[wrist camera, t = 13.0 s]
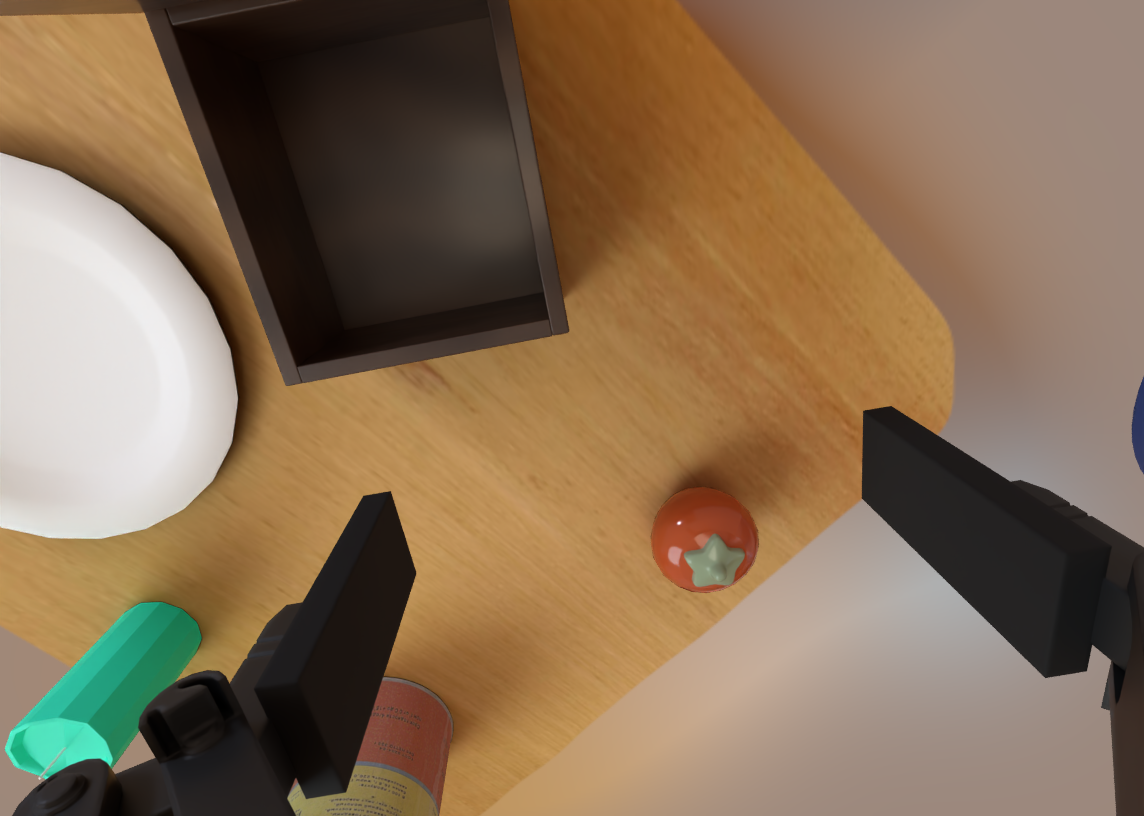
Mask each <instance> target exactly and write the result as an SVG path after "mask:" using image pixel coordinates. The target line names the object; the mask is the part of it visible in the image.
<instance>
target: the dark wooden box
mask: <svg viewBox="0 0 1144 816" xmlns="http://www.w3.org/2000/svg"><path fill="white" fill-rule="evenodd" d="M144 13H145V15H146V18H147V21H148V23H149V26H150V29H151V31H152V34H153V36H154V39H155V42H156V44H157V47H158V50H159V52H160V55H161V58H162V60H163V63H164V65H165V68H166V71H167V73H168V76H169V79H170V81H171V84H172V87H173V89H174V92H175V95H176V97H177V100H178V102H179V105H180V108H181V110H182V113H183V116H184V118H185V121H186V124H187V126H188V129H189V131H190V134H191V137H192V139H193V142H194V145H195V147H196V150H197V153H198V155H199V158H200V160H201V163H202V166H203V168H204V171H205V174H206V176H207V179H208V182H209V184H210V187H211V189H212V192H213V195H214V197H215V200H216V203H217V205H218V208H219V211H220V213H221V216H222V219H223V221H224V224H225V226H226V229H227V232H228V234H229V237H230V240H231V242H232V245H233V248H234V250H235V253H236V255H237V258H238V261H239V263H240V266H241V269H242V271H243V274H244V277H245V279H246V282H247V284H248V287H249V290H250V292H251V295H252V298H253V300H254V303H255V306H256V308H257V311H258V314H259V316H260V319H261V321H262V324H263V327H264V329H265V332H266V335H267V337H268V340H269V343H270V345H271V348H272V350H273V353H274V356H275V358H276V361H277V364H278V366H279V369H280V372H281V374H282V377H283V379H284V382H285V385H286V386H290V385H295V384H300V383H306V382H312V381H317V380H322V379H328V378H333V377H338V376H343V375H349V374H354V373H359V372H365V371H370V370H375V369H380V368H386V367H391V366H396V365H402V364H407V363H412V362H417V361H423V360H428V359H433V358H439V357H444V356H449V355H454V354H460V353H465V352H470V351H476V350H481V349H486V348H491V347H497V346H502V345H507V344H513V343H518V342H523V341H528V340H534V339H539V338H544V337H550V336H552V335H559V334H564V333H568V332H569V326H568V321H567V316H566V310H565V305H564V299H563V294H562V288H561V283H560V278H559V272H558V267H557V261H556V256H555V251H554V245H553V240H552V234H551V229H550V224H549V218H548V213H547V207H546V202H545V197H544V191H543V186H542V180H541V175H540V169H539V164H538V159H537V153H536V148H535V142H534V137H533V132H532V126H531V121H530V115H529V110H528V105H527V99H526V94H525V88H524V83H523V78H522V72H521V67H520V61H519V56H518V50H517V45H516V40H515V34H514V29H513V23H512V18H511V13H510V7H509V2H508V0H204V1H199V2H194V3H189V4H184V5H179V6H174V7H169V8H164V9H159V10H154V11H149V12H144Z"/></svg>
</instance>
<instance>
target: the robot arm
mask: <svg viewBox="0 0 1144 816" xmlns="http://www.w3.org/2000/svg"><path fill="white" fill-rule="evenodd" d="M862 499H863V500H864V501H865V502H866V503H867V504H868V505H869V506H871V508H872V509H873V510H874V511H875V512H877V513H878V515H880V516H881V517H882V518H883V519H884V520H885V521H886V522H887V523H888V524H889V525H890V526H891V527H892V528H893V529H894V530H895V531H896V532H897V533H898V534H899V535H900V536H901V537H902V538H903V539H904V540H905V541H906V542H907V543H908V544H909V545H910V546H911V547H912V548H913V549H914V550H915V551H916V552H918V554H919V555H920V556H921V557H922V558H924V560H926V562H928V563H929V564H930V565H931V566H932V567H933V568H934V569H935V570H936V571H937V572H938V573H939V574H940V575H941V576H942V577H943V578H944V579H945V580H946V581H947V582H948V583H949V584H950V585H951V586H952V587H953V588H954V589H955V590H956V591H957V592H958V593H959V594H960V595H961V596H962V597H963V598H964V599H965V600H966V601H967V602H968V603H969V604H970V605H971V606H972V607H973V608H975V610H976V611H978V612H979V613H980V614H981V615H982V616H983V617H984V618H985V619H986V620H987V621H988V622H989V623H990V624H991V625H992V626H993V627H994V628H995V629H996V630H997V631H998V632H999V633H1000V634H1001V635H1002V636H1003V637H1004V638H1005V639H1006V640H1007V641H1008V642H1009V643H1010V644H1011V645H1012V646H1013V647H1014V648H1015V649H1016V650H1017V651H1018V652H1019V653H1020V654H1022V656H1023V657H1024V658H1025V659H1027V660H1028V661H1029V662H1030V663H1031V664H1032V665H1033V666H1034V667H1035V668H1036V669H1037V670H1038V671H1039V672H1040V673H1041V674H1042V675H1043V676H1044V677H1045V678H1048V677H1054V676H1060V675H1066V674H1073V673H1079V672H1084V671H1087V668H1088V663H1089V658H1090V652H1091V648H1092V645H1094V646H1095V647H1096V648H1097V649H1098V650H1100V651H1101V652H1102V653H1103V654H1104V655H1106V656H1107V657H1108V658H1109V659H1110V660H1111V665H1110V670H1109V674H1108V679H1107V683H1106V688H1105V692H1104V697H1103V702H1102V706H1101V708H1104V709H1107V710H1110V715H1111V733H1112V749H1113V766H1114V783H1115V800H1116V816H1144V547H1142V546H1141V545H1138V544H1137V543H1135V542H1134V541H1132V540H1131V539H1129V538H1127V537H1126V536H1124V535H1122V534H1121V533H1119V532H1117V531H1115V530H1114V529H1112V528H1110V527H1109V526H1107V525H1106V524H1104V523H1102V522H1101V521H1099V520H1097V519H1096V518H1094V517H1092V516H1088V515H1087V513H1086V512H1084V511H1082V510H1081V509H1079V508H1078V507H1076V506H1074V505H1072V506H1070V503H1069V502H1067V501H1066V500H1064V499H1063V498H1061V497H1059V496H1057V495H1056V494H1054V493H1053V492H1051V491H1049V490H1047V489H1044V488H1041V487H1039V486H1036V485H1033V484H1030V483H1027V482H1024V481H1021V480H1018V481H1012V482H1010V481H1008V480H1007V479H1005V478H1004V477H1002V476H1001V475H999V474H998V473H996V472H994V471H993V470H991V469H990V468H988V467H986V466H985V465H983V464H981V463H980V462H978V461H977V460H975V459H974V458H972V457H971V456H969V455H968V454H966V453H964V452H963V451H961V450H960V449H958V448H957V447H955V446H953V445H952V444H950V443H949V442H947V441H945V440H944V439H942V438H941V437H939V436H938V435H936V434H934V433H933V432H931V431H930V430H928V429H927V428H925V427H923V426H922V425H920V424H919V423H917V422H916V421H914V420H912V419H911V418H909V417H908V416H906V415H904V414H903V413H901V412H900V411H898V410H897V409H895V408H893V407H892V406H889V407H883V408H877V409H871V410H865V411H863V458H862ZM415 576H416V570H415V567H414V564H413V561H412V557H411V554H410V551H409V548H408V545H407V541H406V538H405V535H404V532H403V529H402V526H401V522H400V519H399V516H398V513H397V510H396V506H395V503H394V500H393V497H392V494H391V491H389V492H383V493H378V494H372V495H366V496H363V498H362V499H361V501H360V503H359V505H358V506H357V508H356V510H355V512H354V513H353V515H352V517H351V519H350V520H349V522H348V524H347V526H346V527H345V529H344V531H343V533H342V534H341V536H340V538H339V540H338V541H337V543H336V545H335V547H334V548H333V550H332V552H331V554H330V556H329V557H328V559H327V561H326V563H325V564H324V566H323V568H322V570H321V571H320V573H319V575H318V577H317V578H316V580H315V582H314V584H313V585H312V587H311V589H310V591H309V592H308V594H307V596H306V598H305V599H304V601H303V602H302V603H296V604H290V605H286V606H285V607H284V608H283V609H282V610H281V611H280V612H279V613H278V614H276V615H275V616H274V617H273V618H272V619H271V620H270V621H269V622H268V623H267V625H266V626H265V628H264V629H263V631H262V633H261V634H260V636H259V637H258V639H257V644H254V645H253V647H252V649H251V650H250V652H249V653H248V655H247V656H248V658H247V659H245V660H244V661H243V663H242V665H241V666H240V668H239V669H238V671H237V673H236V674H235V676H234V678H233V679H232V681H231V682H230V684H229V682H228V680H227V678H226V676H225V675H224V674H222V673H221V672H220V671H211V670H207V671H203V672H198V673H194V674H191V675H189V676H187V677H185V678H183V679H181V680H178V681H176V682H175V683H173V684H172V685H170V686H169V687H167V688H166V689H164V690H163V691H162V692H160V693H159V694H158V695H157V696H156V697H155V698H154V699H153V700H152V701H151V702H150V703H149V704H148V705H147V706H146V708H145V709H144V711H143V713H142V714H141V716H140V717H139V725H138V729H139V730H140V732H141V733H142V735H143V737H144V739H145V740H146V742H147V744H148V745H149V747H150V749H151V751H152V752H153V754H154V756H155V757H156V758H154V759H151V760H149V761H147V762H144V763H142V764H139V765H137V766H134V767H132V768H129V769H127V770H125V771H122V772H120V773H117V774H114V772H113V771H112V769H111V767H110V766H109V764H108V763H107V762H105V761H104V760H102V759H100V758H97V759H86V760H83V761H80V762H77V763H74V764H71V765H69V766H67V767H66V768H64V769H62V770H60V771H58V772H57V773H55V774H53V775H51V776H50V777H49V778H47V779H46V780H45V781H44V782H42V783H41V784H39V785H38V786H37V787H36V788H34V789H33V790H32V791H31V792H30V793H29V795H28V796H27V797H26V798H25V799H24V800H23V801H22V802H21V803H20V804H19V805H18V807H17V808H16V810H15V812H14V814H13V815H12V816H296V814H295V812H294V810H293V808H292V806H291V804H290V803H289V801H288V799H287V798H288V795H289V793H290V791H291V788H292V786H293V783H294V781H295V778H296V779H297V781H298V783H299V785H300V788H301V790H302V792H303V794H304V796H305V798H306V799H310V798H316V797H322V796H328V795H334V794H340V793H346V792H347V788H348V785H349V782H350V779H351V776H352V773H353V770H354V767H355V764H356V760H357V757H358V754H359V751H360V748H361V745H362V742H363V739H364V735H365V732H366V729H367V726H368V723H369V720H370V717H371V714H372V710H373V707H374V704H375V701H376V698H377V695H378V692H379V689H380V685H381V682H382V679H383V676H384V673H385V670H386V667H387V664H388V660H389V657H390V654H391V651H392V648H393V645H394V642H395V639H396V635H397V632H398V629H399V626H400V623H401V620H402V617H403V614H404V611H405V607H406V604H407V601H408V598H409V595H410V592H411V589H412V586H413V582H414V579H415Z"/></svg>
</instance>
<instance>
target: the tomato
mask: <svg viewBox="0 0 1144 816" xmlns="http://www.w3.org/2000/svg"><path fill="white" fill-rule="evenodd" d="M651 546H652V552H653V558H654V560H655V561H656V563H657V565H658V567H659V568H660V570H661V572H662V573H663V575H664V576H665V577H666V578H668V579H669V580H670V581H671V582H672V583H674V584H675V585H677V586H678V587H681V588H683V589H686V590H689V591H691V592H701V593H709V592H714V591H720V590H723V589H725V588H727V587H729V586H731V585H734V584H735V583H737V582H738V581H739V580H740V579H741V578H743V577H744V576H745V575H746V574H747V573H748V571H749V570H750V568H751V567H752V565H753V564H754V562H755V558H756V555H757V551H758V547H759V538H758V530H757V527H756V524H755V522H754V520H753V518H752V516H751V514H750V512H749V511H748V510H747V509H746V508H745V507H744V506H743V505H742V504H741V503H739V502H738V501H737V500H736V499H735V498H734V497H733V496H731V495H729V494H726V493H724V492H722V491H719V490H717V489H714V488H709V487H692V488H687V489H683V490H681V491H679V492H677V493H675V494H673V495H672V496H671V497H670V498H669V499H668V500H667V501H666V502H665V503H664V504H663V505H662V506H661V508H660V510H659V511H658V513H657V515H656V516H655V520H654V523H653V528H652V533H651Z"/></svg>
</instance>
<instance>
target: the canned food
mask: <svg viewBox="0 0 1144 816" xmlns="http://www.w3.org/2000/svg"><path fill="white" fill-rule="evenodd" d="M452 736H453V721H452V717H451V714H450V712H449V710H448V708H447V707H446V705H445V704H444V703H443V701H442V700H441V699H440V698H439V697H438V696H436V695H435V694H434V693H433V692H431V691H430V690H428V689H426V688H425V687H423V686H421V685H419V684H416V683H414V682H411V681H407V680H403V679H398V678H389V677H383V679H382V682H381V685H380V689H379V692H378V695H377V698H376V701H375V704H374V707H373V710H372V714H371V717H370V720H369V723H368V726H367V729H366V732H365V735H364V739H363V742H362V745H361V748H360V751H359V754H358V757H357V760H356V764H355V767H354V770H353V773H352V776H351V779H350V782H349V785H348V788H347V792H346V793H340V794H334V795H328V796H322V797H316V798H310V799H306V798H305V796H304V794H303V792H302V790H301V788H300V785H299V783H298V781H297V779H296V778H295V781H294V783H293V786H292V788H291V791H290V793H289V795H288V798H287V799H288V801H289V803H290V804H291V806H292V808H293V810H294V812H295V814H296V816H439V813H440V806H441V800H442V793H443V787H444V781H445V774H446V768H447V761H448V755H449V748H450V743H451V740H452Z"/></svg>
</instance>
